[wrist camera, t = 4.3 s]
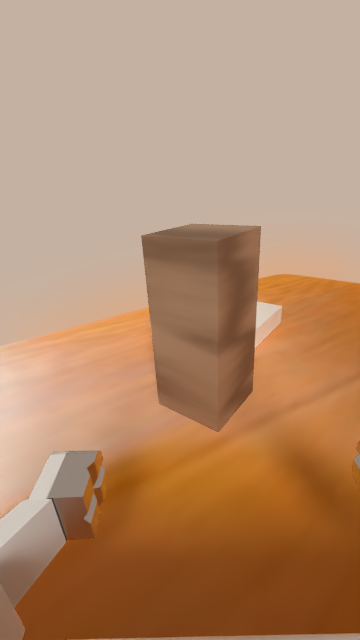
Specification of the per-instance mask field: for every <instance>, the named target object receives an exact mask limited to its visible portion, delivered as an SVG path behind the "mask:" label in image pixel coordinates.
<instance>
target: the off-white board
mask: <svg viewBox="0 0 360 640" xmlns="http://www.w3.org/2000/svg"><path fill="white" fill-rule="evenodd" d="M281 314H282V306H280V305H274V304H269V303H263V302H258V301H257V312H256V331H255V348H256V347H257V346H258V345H259V344H260V343H261V342H262V341H263V340H264V339H265V338H266V337H267V336H268V335H269V334H270V333H271V332H272V331H273V330H274V329H275V328H276V327H277V326H278V325H279V324H280V323H281ZM150 324H151V322H150ZM151 334H152V331H151Z"/></svg>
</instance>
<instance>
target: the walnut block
mask: <svg viewBox="0 0 360 640" xmlns="http://www.w3.org/2000/svg"><path fill="white" fill-rule="evenodd" d="M260 231H261V226H238V225H236V226H235V225H208V224H190V225H185V226H181V227H177V228H172V229H168V230H164V231H159V232H155V233H151V234H146V235H142V246H143V255H144V265H145V275H146V284H147V293H148V303H149V312H150V322H151V331H152V340H153V350H154V359H155V369H156V378H157V387H158V397H159V404H161V405H163V406H166V407H168V408H170V409H172V410H174V411H176V412H178V413H180V414H182V415H184V416H186V417H188V418H190V419H192V420H194V421H196V422H199V423H201V424H203V425H205V426H207V427H209V428H211V429H213V430H215V431H217V432H219V431H220V430H221V428H222V427H223V426H224V425H225V423H226V422H227V421H228V420H229V419H230V417H231V416H232V415H233V414H234V413H235V411H236V410H237V409H238V408H239V407H240V405H241V404H242V403H243V402H244V401H245V399H246V398H247V397H248V396H249V394H250V393H251V392H252V389H253V370H254V350H255V331H256V312H257V292H258V272H259V254H260V234H261V232H260Z"/></svg>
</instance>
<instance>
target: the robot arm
mask: <svg viewBox="0 0 360 640" xmlns="http://www.w3.org/2000/svg"><path fill="white" fill-rule="evenodd" d="M356 450H357V451H358V453H359V455H358V456H357V457H355V458H354V459H353V464H352V471H353V477H354V479H355V482H356V484H357V486H358V488H359V490H360V441H359V442H358V443H357V447H356ZM102 461H103V456H102V453H101V451H60V452H53V453H52V454H51V455H50V456H49V458H48V460H47V462H46V464H45V466H44V468H43V470H42V472H41V474H40V476H39V478H38V480H37V482H36V484H35V486H34V488H33V490H32V492H31V494H30V497H29V499H28V500H23V501H21V502H20V503H19V504H18V505H17V506H16V507H14V508H13V509H12V510H11V511H10V512H9V513H7V514H6V515H5V516H4V517H3V518H2V519H0V640H22V639H23V636H24V633H25V627H24V624H23V622H22V621H21V619H20V617H19V615H18V614H17V612H16V610H15V607H16V606H17V604H18V603H19V602H20V600H21V599H22V598H23V597H24V595H25V594H26V593H27V592H28V590H29V589H30V588H31V586H32V585H33V584H34V583H35V581H36V580H37V579H38V577H39V576H40V575H41V574H42V572H43V571H44V570H45V569H46V567H47V566H48V565H49V563H50V562H51V561H52V560H53V558H54V557H55V556H56V555H57V553H58V552H59V551H60V549H61V548H62V547H63V546H64V544H65V543H66V540H73V539H89V538H95V536H96V532H97V528H98V524H99V520H100V516H101V515H100V511H99V506H100V505H101V504H102V503H103V501H104V499H105V495H106V488H107V474H106V469H105V468H104V467H103V466H102ZM69 640H360V633H340V634H294V635H248V636H202V637H158V638H113V639H69Z"/></svg>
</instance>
